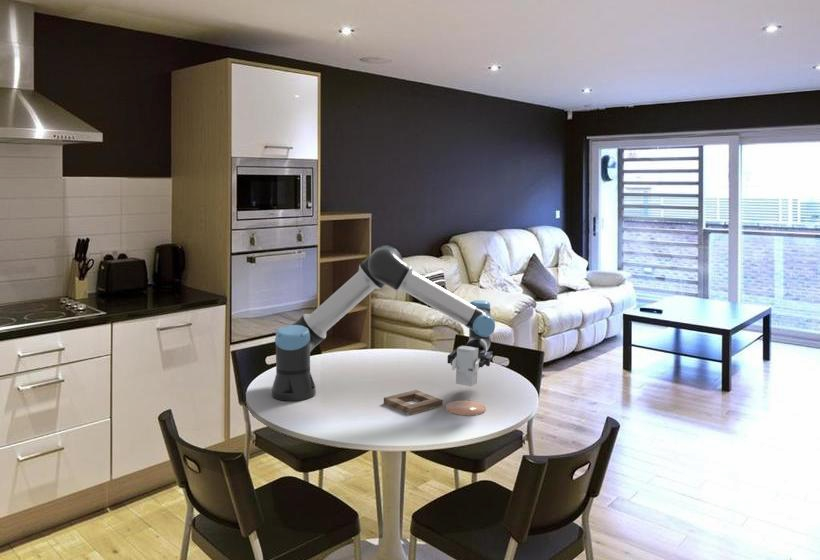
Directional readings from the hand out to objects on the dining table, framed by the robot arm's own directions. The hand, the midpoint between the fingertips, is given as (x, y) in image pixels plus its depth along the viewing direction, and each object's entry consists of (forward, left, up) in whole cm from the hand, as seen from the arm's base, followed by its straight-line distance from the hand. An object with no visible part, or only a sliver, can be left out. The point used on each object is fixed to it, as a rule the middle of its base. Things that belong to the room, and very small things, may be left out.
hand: (464, 366), depth 209 cm
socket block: (-17, -7, -15) cm, 24 cm away
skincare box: (-3, +4, -7) cm, 9 cm away
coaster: (-3, +4, -15) cm, 16 cm away
